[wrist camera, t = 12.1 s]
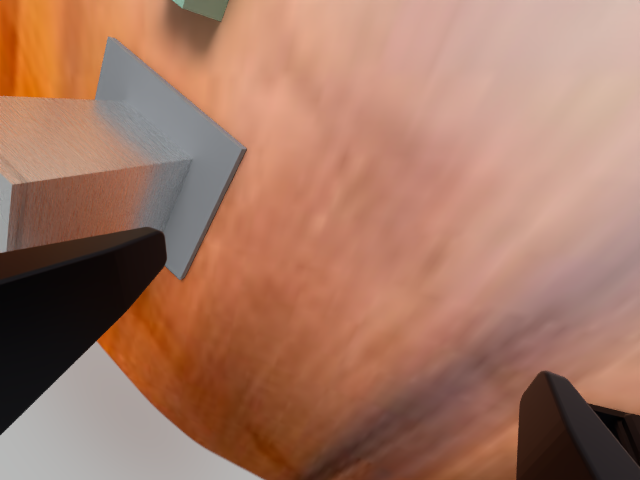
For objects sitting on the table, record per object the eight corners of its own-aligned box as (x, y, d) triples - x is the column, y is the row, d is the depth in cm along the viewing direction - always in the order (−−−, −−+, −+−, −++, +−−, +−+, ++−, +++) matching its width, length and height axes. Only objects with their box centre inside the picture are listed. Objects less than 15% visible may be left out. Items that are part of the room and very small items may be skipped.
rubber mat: (246, 148, 21) (241, 149, 21) (184, 277, 27) (179, 280, 27) (115, 38, 23) (107, 36, 23) (83, 181, 29) (77, 182, 29)
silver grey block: (192, 158, 23) (11, 184, 14) (164, 229, 26) (3, 285, 17) (126, 101, 24) (-81, 93, 15) (107, 176, 27) (-74, 204, 18)
